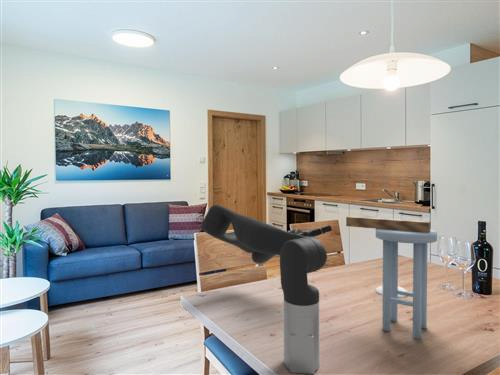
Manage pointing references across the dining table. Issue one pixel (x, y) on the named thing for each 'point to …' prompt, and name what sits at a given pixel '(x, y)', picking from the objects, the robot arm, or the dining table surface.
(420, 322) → the stool
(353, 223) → the thin wooden plank
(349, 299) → the dining table surface
